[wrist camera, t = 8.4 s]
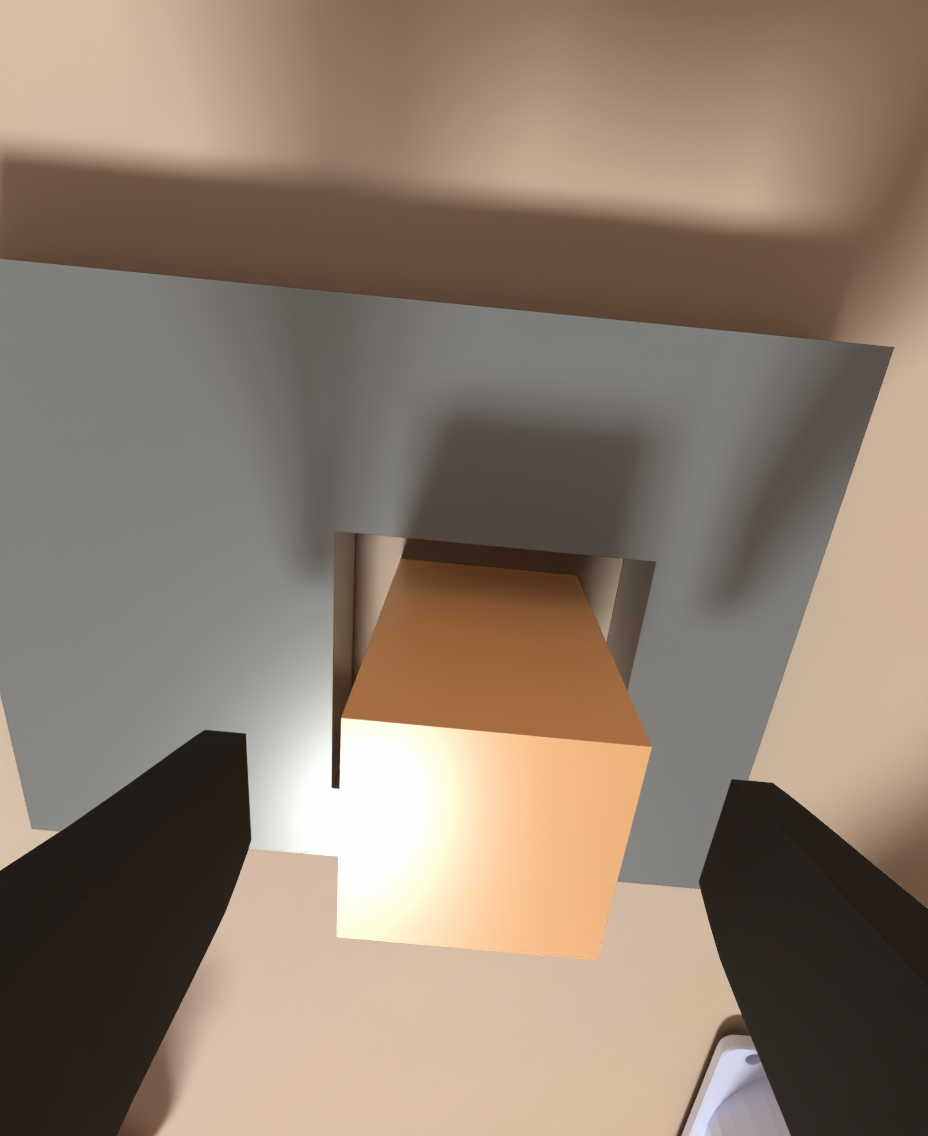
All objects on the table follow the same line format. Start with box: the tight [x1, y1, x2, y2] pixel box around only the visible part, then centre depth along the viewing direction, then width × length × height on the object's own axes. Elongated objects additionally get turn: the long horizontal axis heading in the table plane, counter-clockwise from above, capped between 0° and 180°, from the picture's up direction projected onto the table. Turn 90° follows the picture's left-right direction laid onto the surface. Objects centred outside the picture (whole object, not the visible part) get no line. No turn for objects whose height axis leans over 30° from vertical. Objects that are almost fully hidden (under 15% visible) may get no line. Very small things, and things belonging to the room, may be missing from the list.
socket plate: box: [0, 259, 894, 889], centre depth 12 cm, size 16×12×2 cm
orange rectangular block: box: [337, 559, 652, 960], centre depth 11 cm, size 4×4×6 cm
